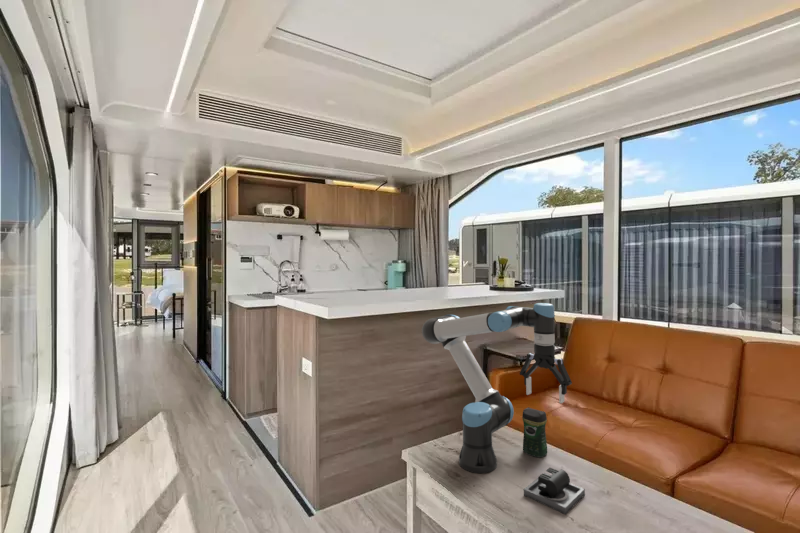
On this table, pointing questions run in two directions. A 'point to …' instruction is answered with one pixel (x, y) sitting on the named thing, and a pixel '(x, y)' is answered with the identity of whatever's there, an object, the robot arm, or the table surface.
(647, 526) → the table surface
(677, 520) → the table surface
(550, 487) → the end cap
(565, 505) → the grey square tray
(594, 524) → the table surface
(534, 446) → the coffee jar
